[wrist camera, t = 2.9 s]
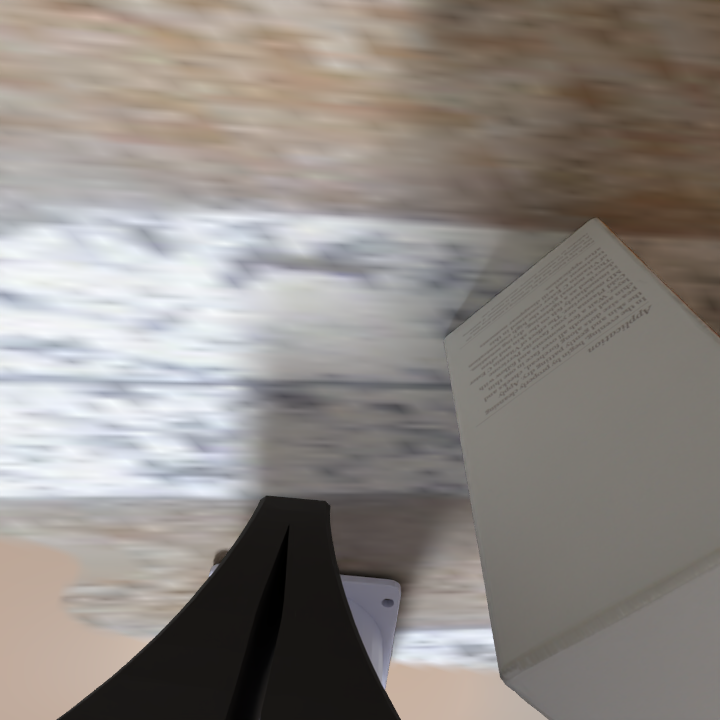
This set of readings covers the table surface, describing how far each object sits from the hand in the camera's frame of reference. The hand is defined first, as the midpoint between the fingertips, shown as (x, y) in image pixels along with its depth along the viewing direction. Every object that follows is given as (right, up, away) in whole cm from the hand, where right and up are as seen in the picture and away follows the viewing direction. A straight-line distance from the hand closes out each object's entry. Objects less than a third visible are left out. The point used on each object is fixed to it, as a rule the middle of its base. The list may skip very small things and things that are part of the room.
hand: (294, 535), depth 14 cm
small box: (+9, +4, +9) cm, 13 cm away
